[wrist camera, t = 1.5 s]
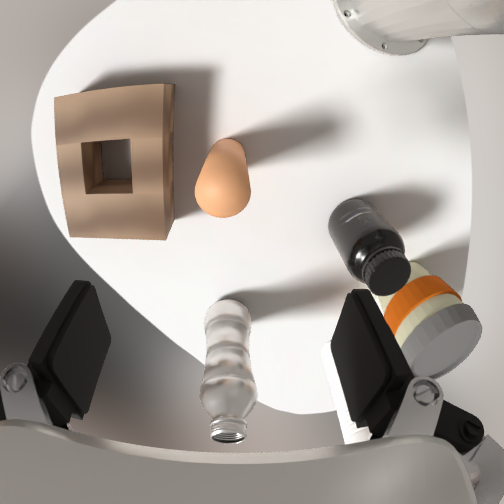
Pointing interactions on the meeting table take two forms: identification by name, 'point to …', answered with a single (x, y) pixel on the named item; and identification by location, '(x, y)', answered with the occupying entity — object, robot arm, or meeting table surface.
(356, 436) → the water bottle
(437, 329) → the reusable coffee cup
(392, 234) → the supplement bottle
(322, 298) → the meeting table surface
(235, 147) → the peg
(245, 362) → the plastic bottle
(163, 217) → the socket block
